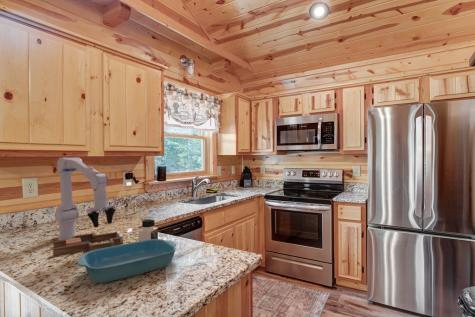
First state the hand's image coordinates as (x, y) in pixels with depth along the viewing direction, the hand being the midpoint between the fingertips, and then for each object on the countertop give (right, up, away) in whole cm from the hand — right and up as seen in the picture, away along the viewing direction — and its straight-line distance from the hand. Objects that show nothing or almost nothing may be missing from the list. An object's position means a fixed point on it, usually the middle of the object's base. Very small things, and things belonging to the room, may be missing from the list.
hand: (103, 225), depth 128 cm
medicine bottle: (+21, -10, +5) cm, 24 cm away
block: (-13, -11, -3) cm, 17 cm away
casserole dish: (+24, -11, -25) cm, 36 cm away
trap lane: (-8, -10, +1) cm, 13 cm away
